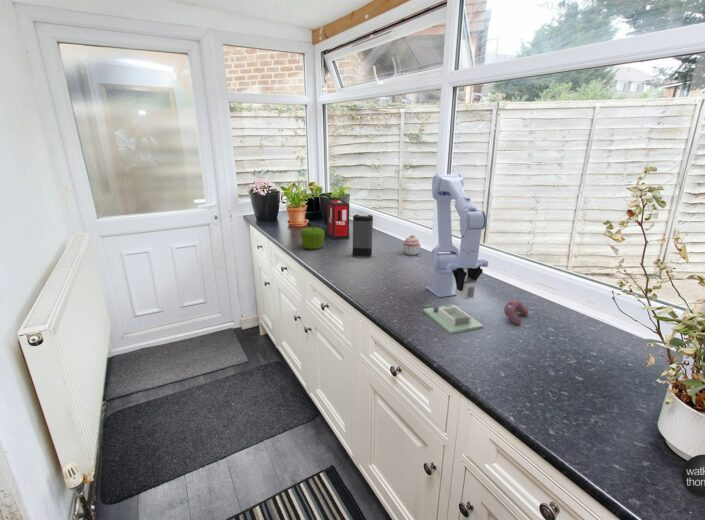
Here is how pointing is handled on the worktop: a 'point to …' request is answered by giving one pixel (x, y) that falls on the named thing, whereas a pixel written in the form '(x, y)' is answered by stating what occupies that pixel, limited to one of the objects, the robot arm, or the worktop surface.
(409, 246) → the cupcake
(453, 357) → the worktop surface
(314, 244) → the apple
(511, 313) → the video game controller
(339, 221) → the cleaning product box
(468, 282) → the plug
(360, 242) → the electronic device
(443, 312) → the board
